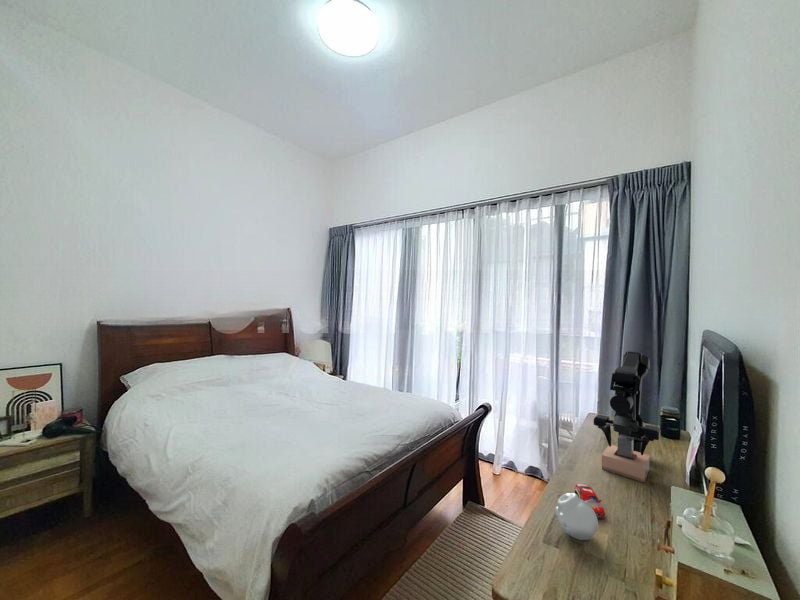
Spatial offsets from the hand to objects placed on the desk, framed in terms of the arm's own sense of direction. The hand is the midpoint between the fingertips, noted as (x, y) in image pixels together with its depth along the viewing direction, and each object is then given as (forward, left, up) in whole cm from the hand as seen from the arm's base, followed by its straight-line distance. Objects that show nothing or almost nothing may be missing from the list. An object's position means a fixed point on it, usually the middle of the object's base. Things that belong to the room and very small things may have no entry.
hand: (625, 450), depth 111 cm
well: (0, 0, -6) cm, 6 cm away
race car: (+32, -4, -7) cm, 33 cm away
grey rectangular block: (0, 0, -6) cm, 6 cm away
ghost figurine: (+48, -3, -7) cm, 49 cm away
